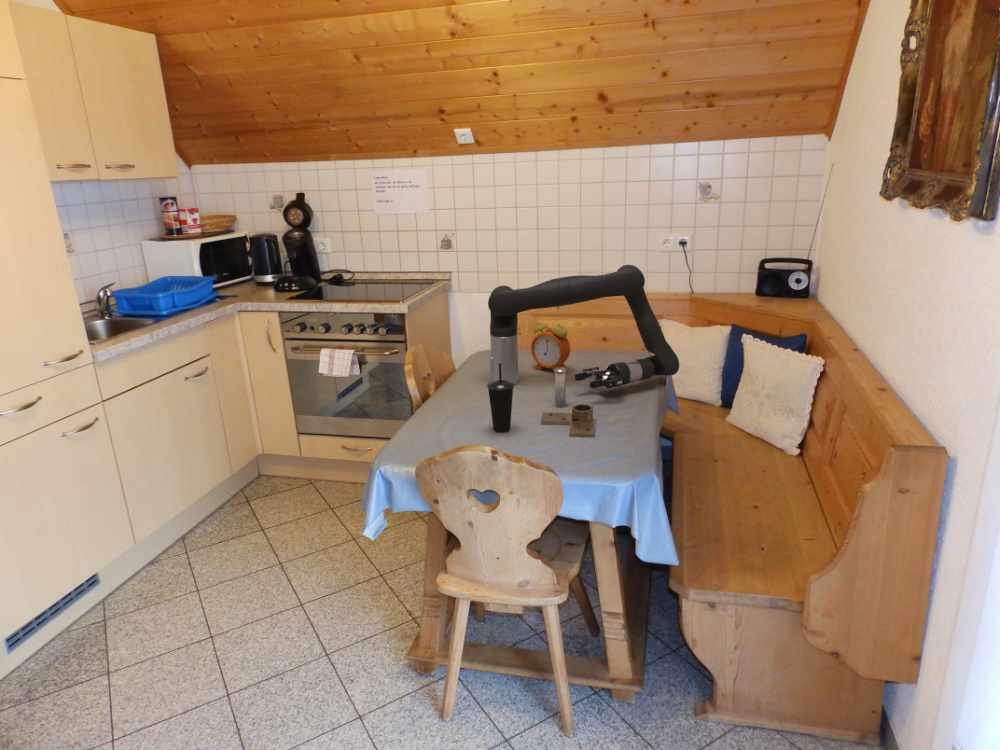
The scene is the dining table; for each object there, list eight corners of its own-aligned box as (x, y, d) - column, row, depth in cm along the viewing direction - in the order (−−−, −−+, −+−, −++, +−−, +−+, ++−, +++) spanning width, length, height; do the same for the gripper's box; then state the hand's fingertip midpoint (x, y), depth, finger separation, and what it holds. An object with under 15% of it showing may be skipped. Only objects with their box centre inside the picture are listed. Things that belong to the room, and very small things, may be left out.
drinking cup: (506, 436, 190) (504, 369, 184) (483, 431, 194) (480, 365, 187) (520, 427, 196) (518, 361, 190) (497, 422, 200) (495, 358, 194)
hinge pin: (553, 407, 210) (553, 371, 206) (554, 403, 214) (554, 367, 210) (566, 407, 210) (566, 371, 206) (566, 403, 213) (566, 367, 209)
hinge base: (539, 435, 190) (538, 422, 188) (542, 415, 204) (542, 403, 203) (594, 437, 188) (594, 423, 186) (594, 416, 202) (594, 403, 201)
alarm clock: (530, 369, 247) (529, 316, 241) (539, 365, 252) (538, 312, 246) (562, 375, 240) (562, 320, 234) (570, 370, 245) (570, 316, 239)
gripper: (611, 356, 225) (570, 364, 218) (638, 367, 213) (596, 376, 206) (611, 377, 227) (570, 386, 220) (637, 390, 215) (595, 399, 208)
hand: (582, 381), depth 213 cm, fingers open, 8 cm apart
